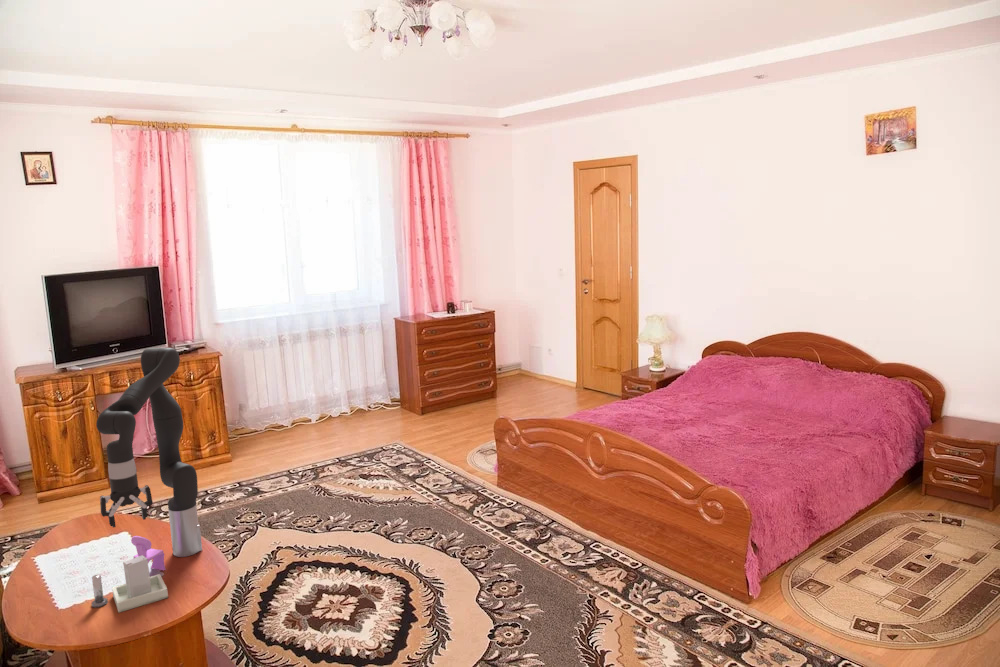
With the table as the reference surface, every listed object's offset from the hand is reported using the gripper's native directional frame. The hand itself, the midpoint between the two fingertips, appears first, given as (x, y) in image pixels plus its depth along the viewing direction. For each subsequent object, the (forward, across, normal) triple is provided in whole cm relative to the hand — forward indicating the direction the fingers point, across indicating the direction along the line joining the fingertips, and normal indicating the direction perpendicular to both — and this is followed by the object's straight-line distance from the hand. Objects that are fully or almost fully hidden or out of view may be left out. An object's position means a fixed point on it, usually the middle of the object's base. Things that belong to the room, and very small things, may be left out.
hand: (129, 522), depth 220 cm
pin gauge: (+24, +11, -2) cm, 27 cm away
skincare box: (+24, 0, +2) cm, 24 cm away
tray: (+25, 0, +2) cm, 25 cm away
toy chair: (+25, -6, -12) cm, 28 cm away
